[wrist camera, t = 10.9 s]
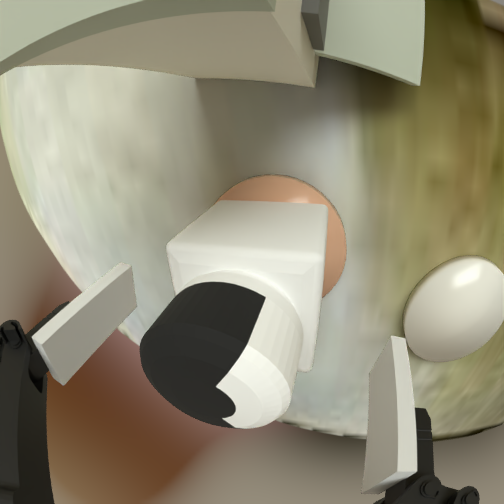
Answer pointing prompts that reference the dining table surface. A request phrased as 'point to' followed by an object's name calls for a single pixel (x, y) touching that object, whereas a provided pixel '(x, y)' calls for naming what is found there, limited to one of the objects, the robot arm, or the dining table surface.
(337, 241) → the peach round disc
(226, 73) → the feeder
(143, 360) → the medicine bottle
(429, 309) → the white domed round part
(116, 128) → the dining table surface
